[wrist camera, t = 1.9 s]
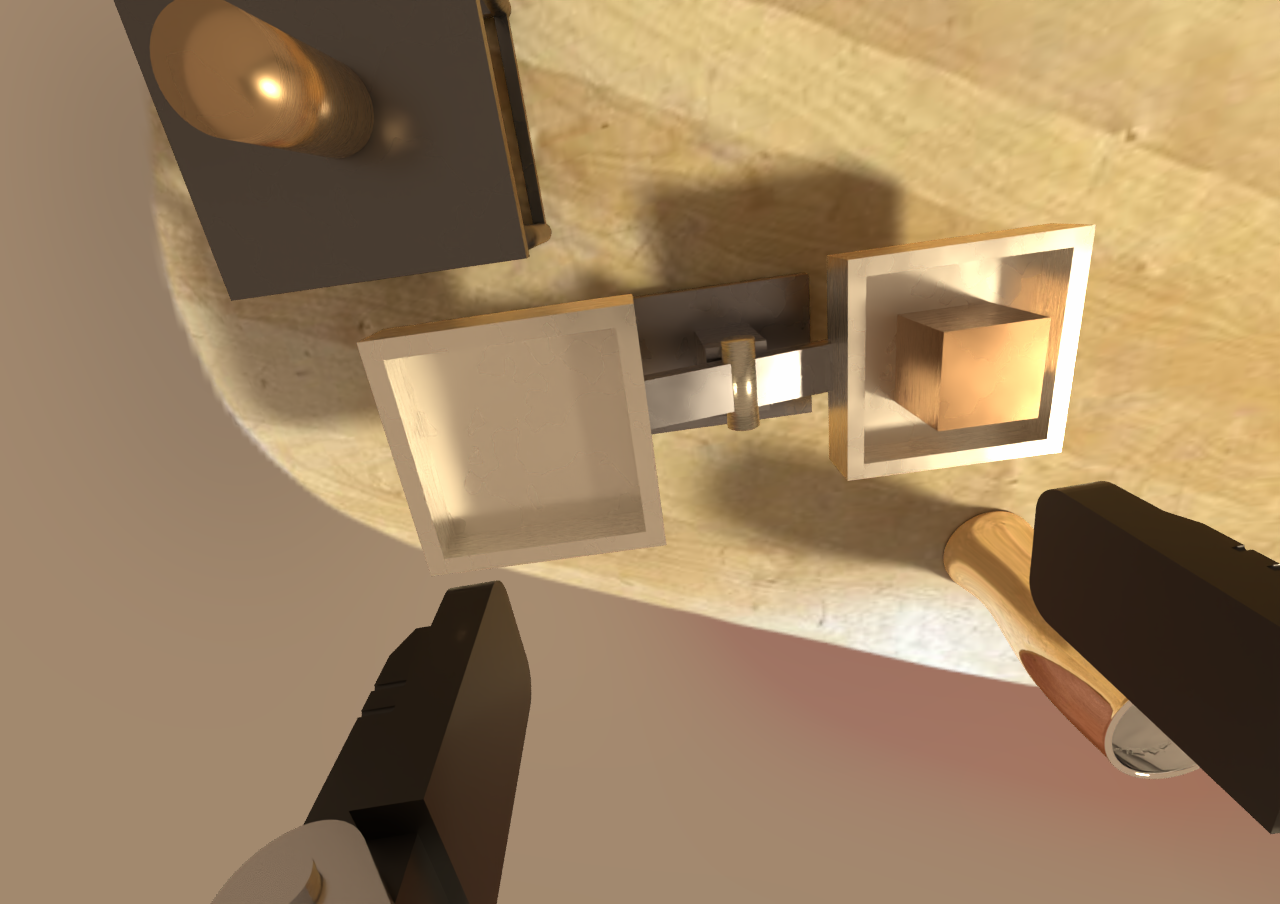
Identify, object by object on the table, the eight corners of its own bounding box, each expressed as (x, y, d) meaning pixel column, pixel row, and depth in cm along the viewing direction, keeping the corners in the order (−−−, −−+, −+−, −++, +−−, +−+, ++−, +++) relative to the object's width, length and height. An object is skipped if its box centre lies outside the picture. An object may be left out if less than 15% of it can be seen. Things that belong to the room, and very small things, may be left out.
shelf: (439, 300, 33) (356, 342, 22) (991, 221, 32) (1170, 227, 22) (483, 472, 37) (431, 576, 26) (975, 404, 36) (1119, 484, 26)
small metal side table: (275, 26, 28) (-156, -204, 12) (510, -9, 28) (372, -289, 12) (351, 272, 32) (102, 331, 17) (555, 242, 32) (496, 274, 16)
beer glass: (916, 572, 41) (1069, 759, 27) (976, 489, 39) (1177, 646, 25) (996, 604, 42) (1182, 798, 28) (1059, 525, 40) (1295, 695, 26)
